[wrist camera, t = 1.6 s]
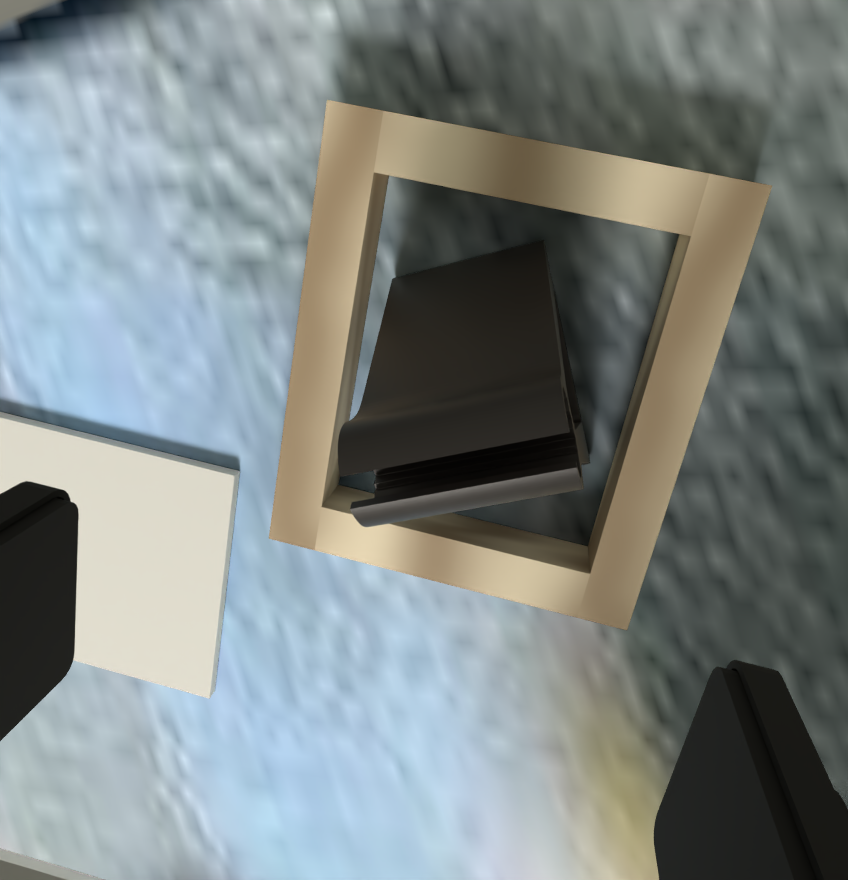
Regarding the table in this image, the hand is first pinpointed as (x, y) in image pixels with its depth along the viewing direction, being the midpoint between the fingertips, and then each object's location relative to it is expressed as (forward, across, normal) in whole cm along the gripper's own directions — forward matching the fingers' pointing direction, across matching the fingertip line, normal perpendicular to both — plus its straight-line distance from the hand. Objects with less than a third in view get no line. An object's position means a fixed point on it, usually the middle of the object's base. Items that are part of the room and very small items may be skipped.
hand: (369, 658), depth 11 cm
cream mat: (+20, +16, +14) cm, 29 cm away
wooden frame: (+20, 0, 0) cm, 21 cm away
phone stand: (+21, 0, 0) cm, 21 cm away
